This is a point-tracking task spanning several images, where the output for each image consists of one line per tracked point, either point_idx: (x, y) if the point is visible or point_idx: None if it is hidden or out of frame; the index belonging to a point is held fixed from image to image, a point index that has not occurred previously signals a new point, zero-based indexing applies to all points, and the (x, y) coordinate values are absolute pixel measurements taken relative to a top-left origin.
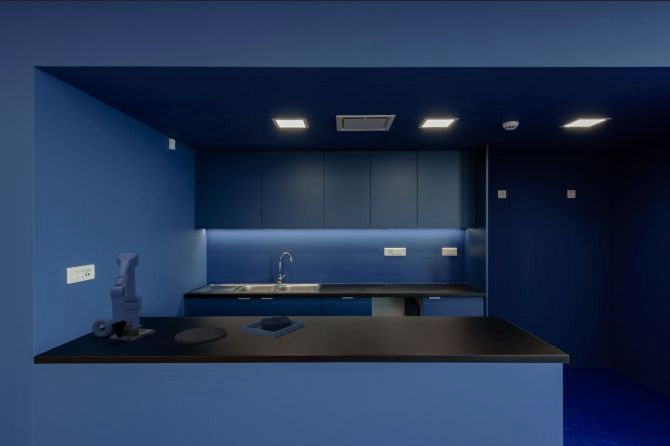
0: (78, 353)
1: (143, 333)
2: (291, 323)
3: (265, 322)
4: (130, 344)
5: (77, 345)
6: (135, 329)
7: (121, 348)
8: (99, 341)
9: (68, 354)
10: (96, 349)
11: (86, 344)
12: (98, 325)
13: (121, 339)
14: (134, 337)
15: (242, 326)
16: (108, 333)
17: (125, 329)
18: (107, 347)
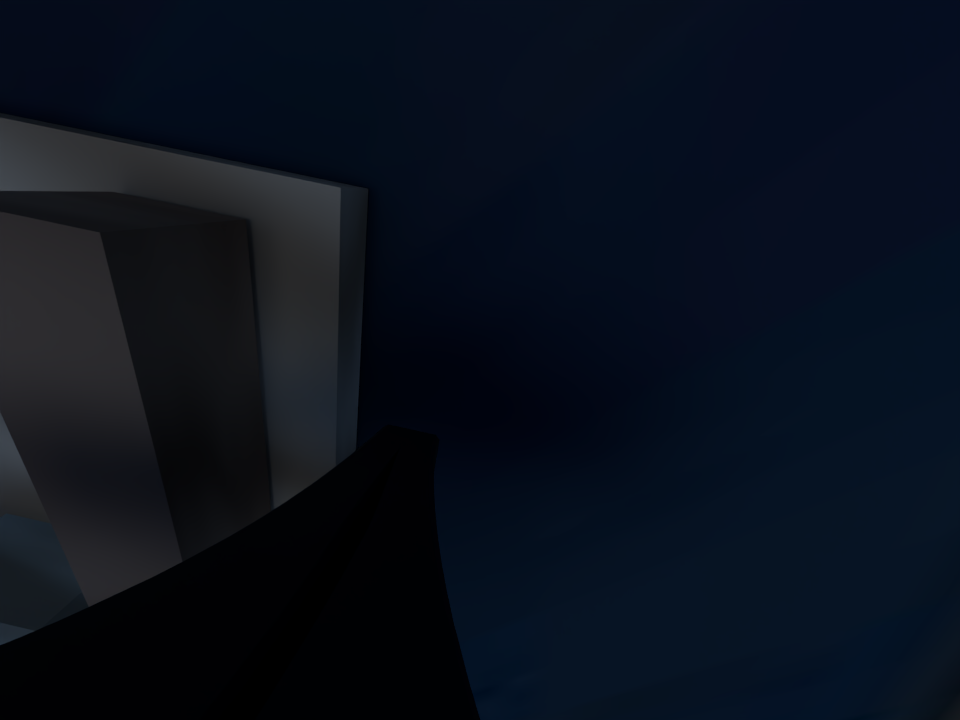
0: (949, 609)
1: (2, 162)
2: None
3: None
4: (602, 45)
5: (592, 716)
6: (16, 265)
7: (921, 52)
8: (454, 621)
9: (944, 674)
10: (815, 504)
11: (562, 674)
12: None
13: (354, 432)
14: (291, 176)
15: None
16: None
17: (161, 524)
18: (741, 410)
